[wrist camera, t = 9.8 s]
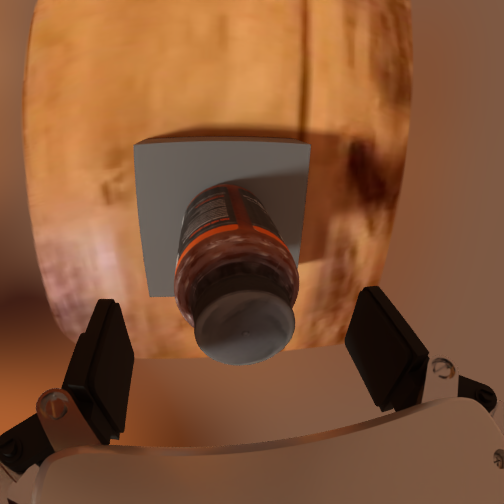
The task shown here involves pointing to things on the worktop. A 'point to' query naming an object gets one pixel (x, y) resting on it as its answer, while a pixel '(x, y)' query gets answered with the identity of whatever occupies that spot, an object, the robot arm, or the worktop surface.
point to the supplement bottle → (235, 277)
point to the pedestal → (205, 176)
